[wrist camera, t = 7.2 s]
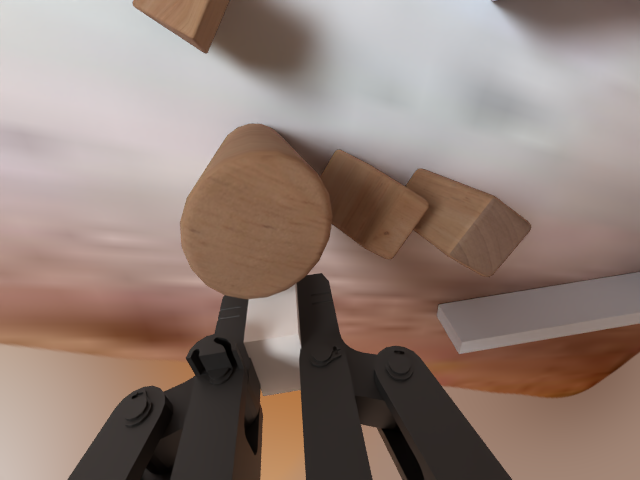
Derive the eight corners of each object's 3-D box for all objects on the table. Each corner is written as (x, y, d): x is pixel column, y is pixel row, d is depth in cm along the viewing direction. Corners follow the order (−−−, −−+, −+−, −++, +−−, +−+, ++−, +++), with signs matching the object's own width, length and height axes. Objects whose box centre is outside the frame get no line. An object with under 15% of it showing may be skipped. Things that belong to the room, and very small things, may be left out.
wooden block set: (453, 160, 19) (636, 211, 10) (379, 264, 22) (475, 383, 12) (172, -58, 12) (-42, -512, 3) (105, 131, 15) (-134, 180, 5)
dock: (499, -41, 13) (570, -70, 10) (925, -91, 14) (1121, -132, 11) (436, 315, 27) (458, 354, 24) (659, 279, 28) (710, 311, 24)
